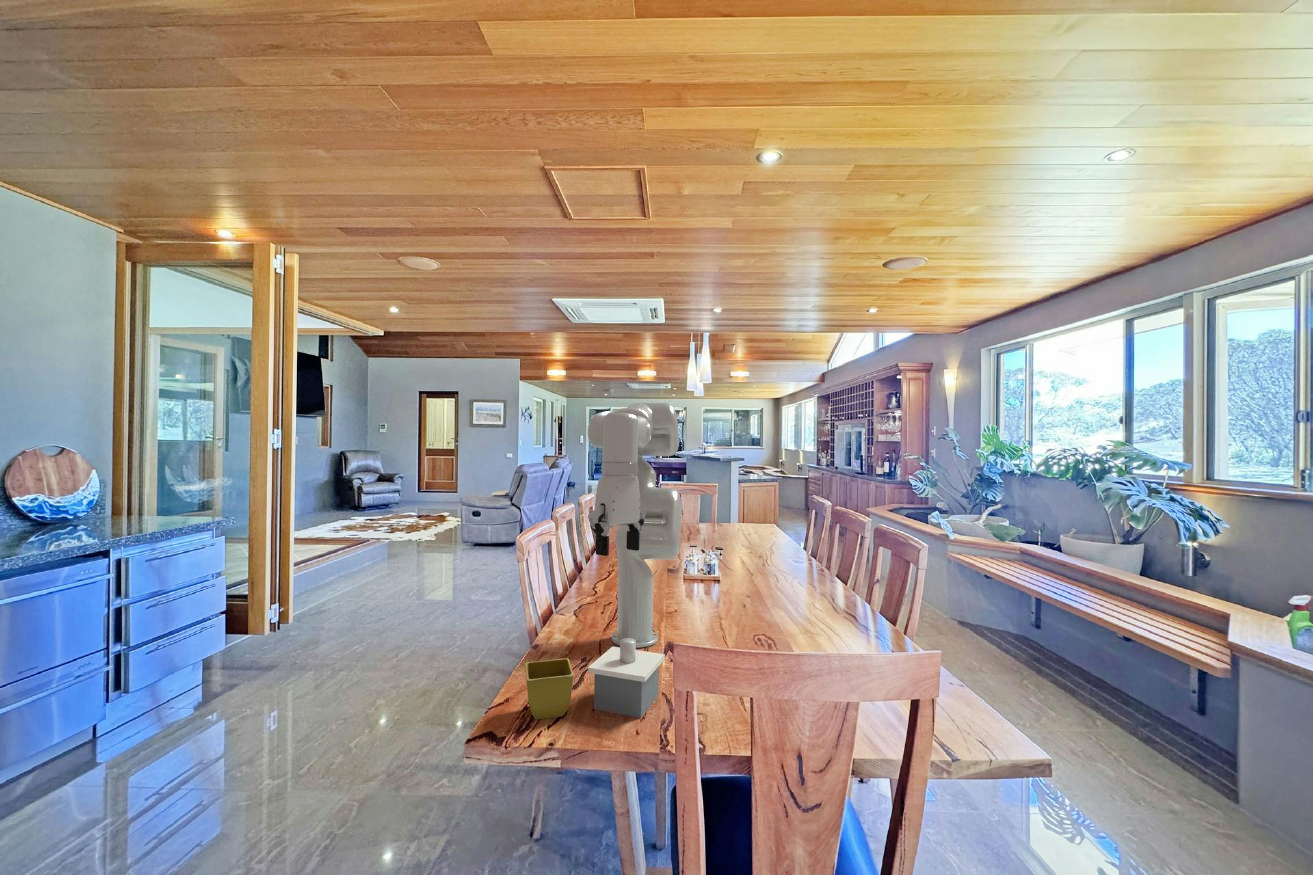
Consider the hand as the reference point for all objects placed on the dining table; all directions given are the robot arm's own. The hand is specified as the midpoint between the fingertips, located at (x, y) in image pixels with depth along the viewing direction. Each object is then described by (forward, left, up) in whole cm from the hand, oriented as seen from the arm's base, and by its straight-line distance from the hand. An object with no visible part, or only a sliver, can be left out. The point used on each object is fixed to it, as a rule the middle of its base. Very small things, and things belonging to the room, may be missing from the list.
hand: (617, 552), depth 116 cm
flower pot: (+12, -9, -31) cm, 34 cm away
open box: (+3, +4, -30) cm, 31 cm away
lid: (+3, +4, -22) cm, 23 cm away
